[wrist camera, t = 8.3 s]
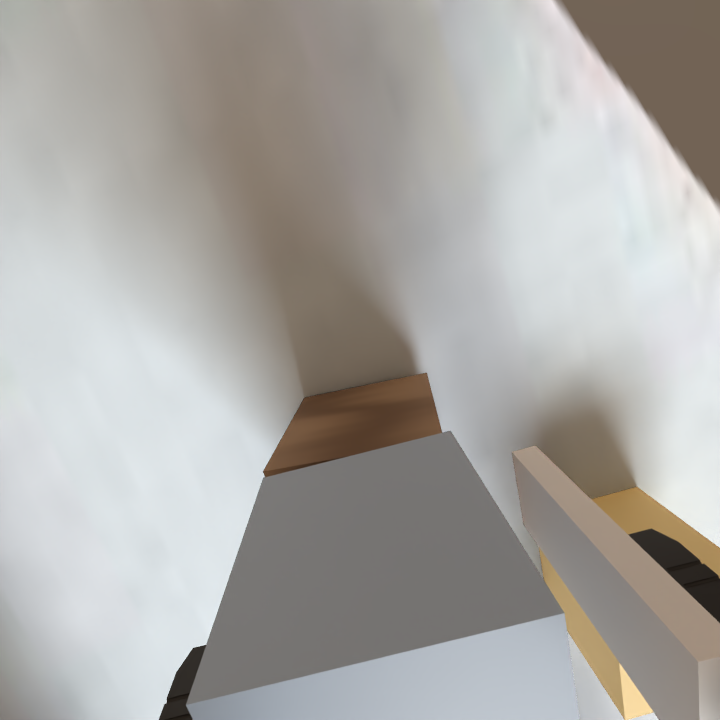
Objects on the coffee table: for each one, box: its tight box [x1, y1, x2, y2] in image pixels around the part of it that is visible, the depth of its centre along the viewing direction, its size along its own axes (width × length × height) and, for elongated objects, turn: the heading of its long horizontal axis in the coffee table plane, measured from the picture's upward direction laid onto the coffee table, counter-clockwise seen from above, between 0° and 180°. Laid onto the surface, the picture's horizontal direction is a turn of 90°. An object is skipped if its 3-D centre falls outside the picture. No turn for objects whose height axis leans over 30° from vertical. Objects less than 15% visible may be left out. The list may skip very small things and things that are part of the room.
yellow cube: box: [539, 487, 720, 720], centre depth 18 cm, size 6×6×6 cm
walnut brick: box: [263, 373, 442, 477], centre depth 15 cm, size 6×6×6 cm
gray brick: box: [186, 431, 580, 720], centre depth 9 cm, size 6×6×6 cm
